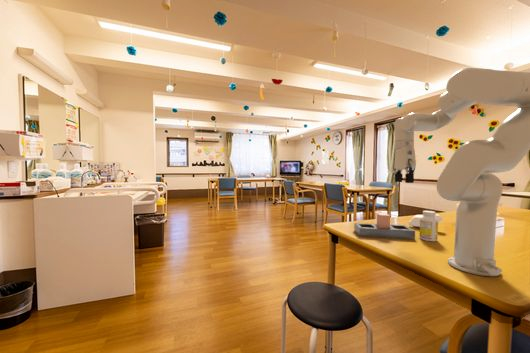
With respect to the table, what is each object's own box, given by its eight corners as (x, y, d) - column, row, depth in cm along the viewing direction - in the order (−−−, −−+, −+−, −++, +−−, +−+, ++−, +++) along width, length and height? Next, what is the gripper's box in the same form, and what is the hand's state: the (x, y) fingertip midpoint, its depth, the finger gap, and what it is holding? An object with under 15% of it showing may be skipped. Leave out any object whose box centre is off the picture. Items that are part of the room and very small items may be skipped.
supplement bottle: (431, 237, 105) (432, 210, 104) (440, 242, 98) (442, 213, 98) (416, 236, 106) (417, 209, 105) (424, 241, 99) (425, 212, 98)
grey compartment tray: (414, 239, 102) (415, 230, 102) (359, 236, 105) (359, 228, 105) (404, 232, 112) (404, 225, 111) (354, 230, 115) (354, 222, 115)
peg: (389, 236, 106) (390, 215, 105) (379, 236, 106) (380, 215, 106) (385, 233, 110) (386, 213, 110) (376, 233, 111) (376, 213, 110)
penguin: (410, 233, 122) (443, 228, 111) (405, 217, 124) (436, 212, 113) (416, 230, 127) (447, 225, 116) (410, 215, 129) (441, 210, 118)
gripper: (424, 142, 94) (423, 183, 94) (403, 147, 111) (402, 181, 111) (405, 142, 95) (404, 183, 95) (387, 147, 112) (387, 181, 112)
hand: (403, 182), depth 103 cm, fingers open, 9 cm apart
